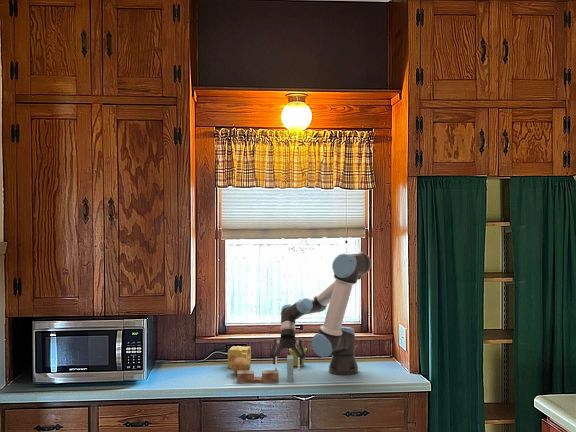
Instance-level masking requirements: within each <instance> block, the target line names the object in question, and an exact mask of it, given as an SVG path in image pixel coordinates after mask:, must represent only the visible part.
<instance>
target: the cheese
mask: <svg viewBox="0 0 576 432" xmlns="http://www.w3.org/2000/svg"><path fill="white" fill-rule="evenodd" d="M237 357H243V358H245V359H246V360H248V361H249V362H250V364H251V362H252V361H251V360H252V349H251V346H250V345H249V346H235V345H233V346H231V347H230V348H229V349H228V350H227V367H228V369H232V364H233V361H234V360H235V359H236V358H237Z"/></svg>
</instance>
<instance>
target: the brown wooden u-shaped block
mask: <svg viewBox="0 0 576 432" xmlns="http://www.w3.org/2000/svg"><path fill="white" fill-rule="evenodd" d="M279 373H280V371H279V370H278V369H277V370H275V369H274V370H270V369H268V370H266V369H265V370H264V369H263V370H261V376H255V370H249V371H238V372H237V374H236V380H237V381H236V383H237V384H249V383H250V384H254V383H255V384H261V383H262V384H265V383H266V384H267V383H271V384H273V383H272V382H279V381H280V379H279Z"/></svg>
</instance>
